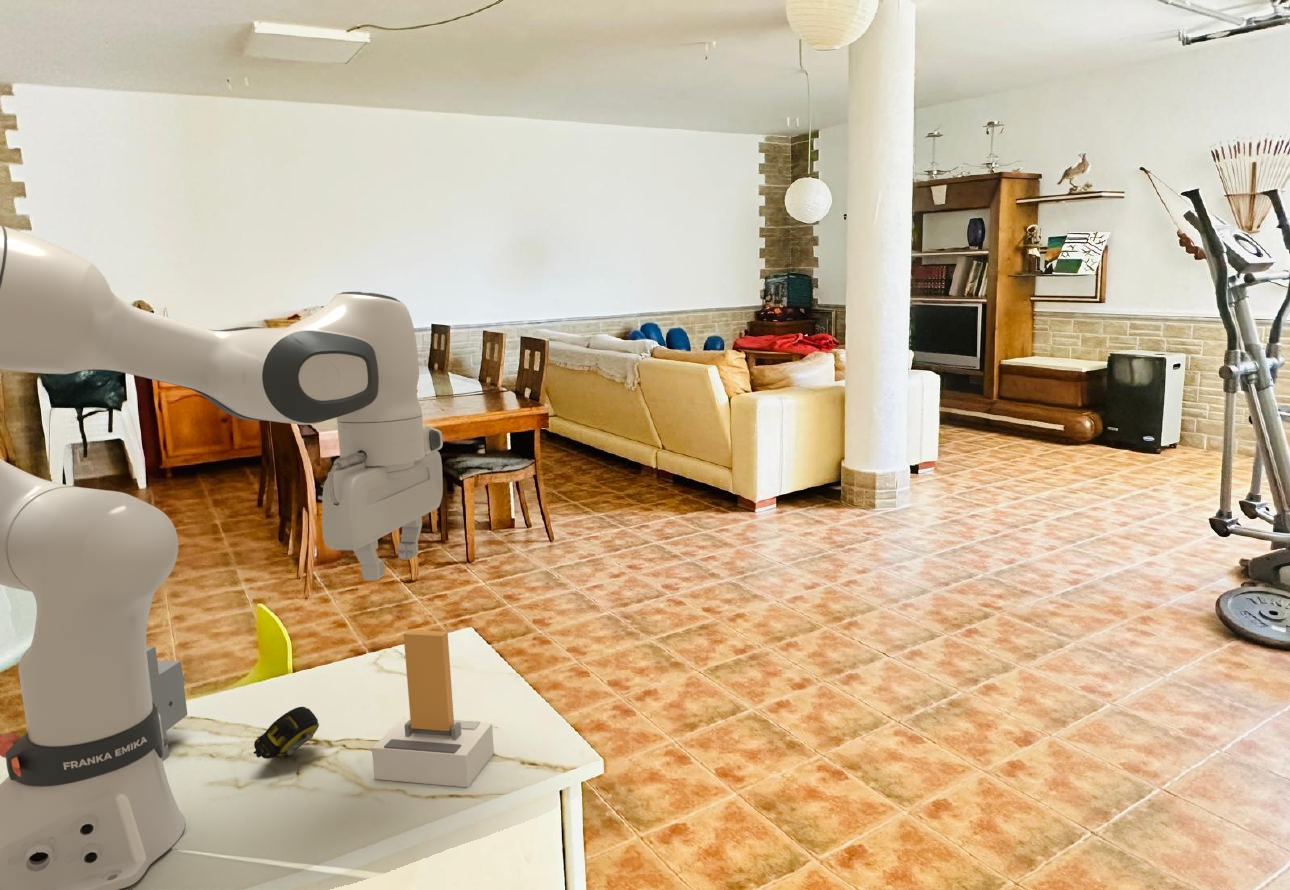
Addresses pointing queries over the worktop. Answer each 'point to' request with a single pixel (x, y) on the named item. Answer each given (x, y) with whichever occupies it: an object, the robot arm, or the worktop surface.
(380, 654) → the worktop surface
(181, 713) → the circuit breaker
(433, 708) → the lever
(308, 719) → the tape measure
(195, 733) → the worktop surface
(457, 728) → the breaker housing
